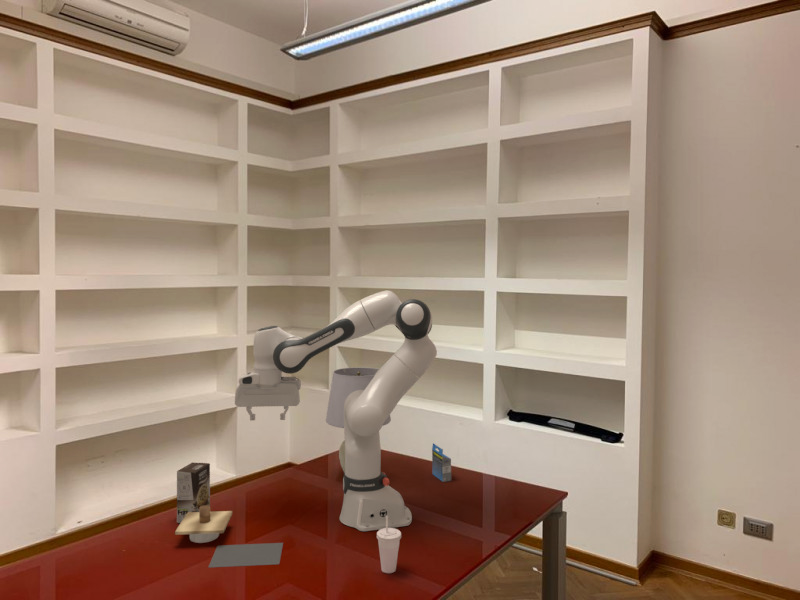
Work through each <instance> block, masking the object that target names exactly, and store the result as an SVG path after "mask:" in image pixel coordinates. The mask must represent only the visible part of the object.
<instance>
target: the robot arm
mask: <svg viewBox="0 0 800 600" xmlns="http://www.w3.org/2000/svg"><path fill="white" fill-rule="evenodd" d="M389 325H392V326H393V325H394V326H395V327H396V328H397V329H398V331H400V332H401V334H402V335H403V336H404V341H403V343H402V344H401V346H400V347H399V348H398V349H397V350H396V351H395V352H394V353H393V354H392V355H391V357H390V358H389V359H388V360H386V362H384V364H383V365H382V366H381V367H380V368H378V369H379V370H378V371H377V372H376V374H375V376H374V377H373V379H372V380H371V382H370V383H369V385H368V386H367V387H366V389H365V390H357V391H354V392H352V393H351V394H350V395H349V396H348V397H347V398H346V400H345V403H344V428H343V430H344V432H343V433H344V440H345V473H344V472H343V477H342V490H343V501H342V507H341V512H340V515H339V521H340V522H341V524H343V525H346V526H347V527H351V528H355V529H357V530H358V531H360V532H369V531H377V530H378V531H379V530H380V529H383V528H386V516H388V528H399V527H406V526H409V525H410V524H411V523H412V521H413V514H412V512H411V510H410V508H409V507H407V506H406V505H405V502H404V499H403V497H402V495H401V493H400V492H399V491H397V490H396V489H395V488H393V487H391V486H390V479H389V478H388V476H387V474H386V473H385V472H384V471H383V472H382V471H381V466H382V465H381V457H382V455H381V454H382V453H381V452H382V451H381V450H382V448H381V439H380V431H381V429H382V427H383V426H382V425H383V423H384V422H385V420H386V419H387V418H388V416H389V415H390V416H391V414H392V413H393V411H394V409H395V408H396V407H397V405H398V404H399V402H400V401H401V399H402V398H403V397H404V396H405V395H406V394H407V393H408V391H409V390H410V389H412V387H413V386H414V385H415V384H416V383H417V382H418V381H419V380H420V379H421V377H423V375H424V374H425V373H426V372H427V370H428V369H429V368H430V367H431V365H432V363H433V362H434V361H435V359H436V357H437V355H438V354H437V352H438V351H437V347H436V345H435V344H434V342H433V341H432V340H431V339H430V338H429V334H430V332H431V331H432V327H433V316H432V312H431V309H430V308H429V306H428V305H427V304H426V303H425V302H424V301H422V300H420V299H415V298H411V299H406V300H404V301H403V302H402V301H401V300H400V297H398V295H397V294H396V293H395V292H393V290H382V291H378V292H376V293H373V294H371V295H368V296H365V297H363V298H362V299H359V300H357V301H355V302H354V303H352V304H351V305H349V306H347V307H346V308H345V309H344V310H342V311H341V313H339V315H338V316H337V317H335V319H334V320H333V321H332V322H331V323H329V324H328V325H327V326H324V327H323V328H320V329H319V330H317V331H314V332H313V333H312V334H309V335H308V336H306V337H301V336H298V335H295V334H292V333H290V332H288V331H285V330H284V329H282V328H281V327H280V326H278V325H270V326H266V327H262V328H260V329H257V330H256V332H255V334H254V336H253V337H254V338H253V347H252V348H253V352H252V353H253V358H254V363H253V367H252V368H253V371H250V372H247V373H244V374H242V375H240V376H239V378H238V386H237V387H236V388H235V389H236V390H235V395H234V405H235V406H236V407H238V408H244V407H245V408H246V412H247V413H248V415H249V420H250V421H256V413H253V412H252V408H253V407H256V408H257V407H260V408H261V407H263V408H264V407H283V410H284V411H283V413H280V414H279V417H280V418H279V419H280V421H285V420H286V414H287V412H288V411H289V408H290V407H298V405H300V402H301V401H300V400H301V398H300V397H301V396H300V390H301V387H302V386H301V385H302V384H301V380H300V379H299V378H297V377H296V376H282V375H283V373H284V374H295V373H297V372H299V371H301V370H302V369H303V368H304V367H305V365H306V364H307V363H308V362H309V360H311V359H312V358H314V357H315V356H317V355H319V354H321V353H323V352H325V351H327V350H329V349H330V348H333V347H335V346H336V345H339V344H341V343H345V342H348V341H351V340H354V339H359V338H362V337H364V336H367V335H369V334H372V333H374V332H376V331H378V330H380V329H382V328H384V327H386V326H389Z"/></svg>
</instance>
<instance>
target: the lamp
mask: <svg viewBox="0 0 800 600" xmlns="http://www.w3.org/2000/svg"><path fill="white" fill-rule="evenodd" d="M379 369H380V368H375V367H363V366H362V367H354V366H353V367H344V368H337V369H335V370H333V371H332V377H331V384H330V391H329V397H328V405H327V411H326V418H325V422H326V424H328V425H330V426H332V427H335V428H340V429H344V403H345V400H346V398H347V397H348V396H349V395H350V394H351V393H352V392H354V391H357V390H365V389H366V387H367V386H368V385H369V383H370V382H371V380H372V379H373V377H374V376H375V374H376V372H377V371H378V370H379ZM391 420H392V419H391V414H390V415H389V416H388V418H387V419H386V420H385V422H384V423H383V425H382V427H384V426H386V425H389V423H390V422H391ZM338 458H339V462H340V466H341V469H342V471H343V474H344V473H345V439H344V440H343V441H342V443H341V445H340V446H339V449H338Z"/></svg>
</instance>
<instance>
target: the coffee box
mask: <svg viewBox="0 0 800 600" xmlns="http://www.w3.org/2000/svg"><path fill="white" fill-rule="evenodd" d="M210 465H211V464H210V463H207V462H190V463H188V464H187V465H185V466H184V467H182V468H180V469H178V470H177V471H176V523H178V524H180V523H181V522H182V520H183V519H184V517H185V516H186V514H187V513H188V512H199V507H201V506H203V505H209V506H210V507H211V471H210V469H211V466H210Z"/></svg>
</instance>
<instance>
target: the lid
mask: <svg viewBox="0 0 800 600" xmlns="http://www.w3.org/2000/svg"><path fill="white" fill-rule="evenodd" d="M232 515H233V510H226V511H225V510H221V511H220V510H219V511H218V510H217V511H215V510H214V511H211V505H210V506H209V505H203V506H201V507H199V512H188V513H187V514H186V516H185V517H184V519H183V520H182V522H181V523H179V525H178V526H177V528H176V530H175V532H174V535H176V536H177V535H189V534H212V533H219V534H224V533H225V531H226V528H227V526H228V524H229V522H230V520H231V518H232Z"/></svg>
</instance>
